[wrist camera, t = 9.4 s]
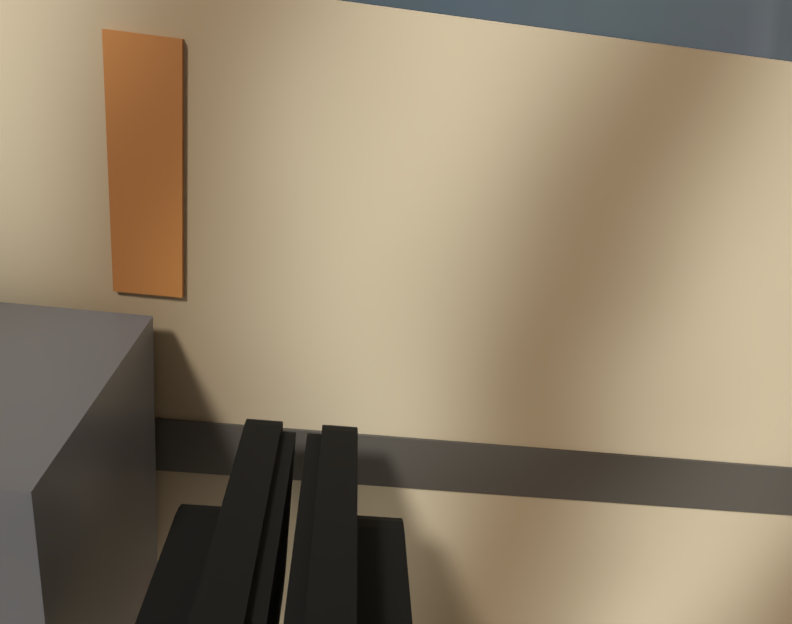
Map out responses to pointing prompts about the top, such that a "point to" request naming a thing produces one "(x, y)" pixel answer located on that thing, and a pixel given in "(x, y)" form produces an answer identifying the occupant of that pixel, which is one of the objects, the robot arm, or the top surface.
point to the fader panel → (437, 281)
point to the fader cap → (76, 465)
